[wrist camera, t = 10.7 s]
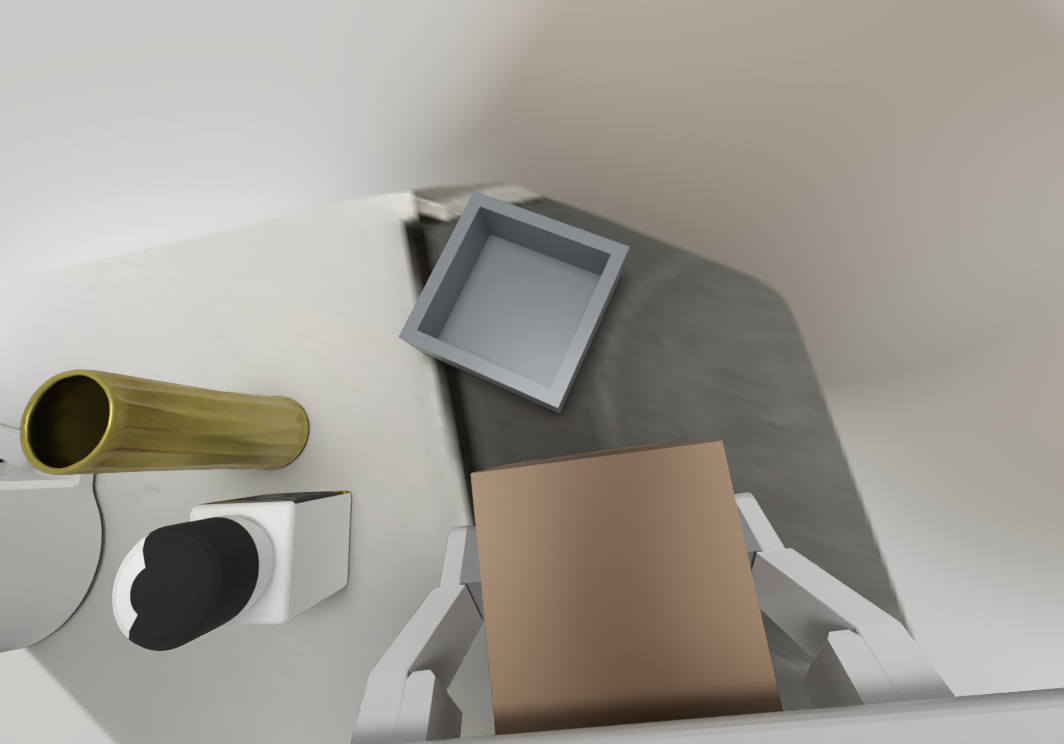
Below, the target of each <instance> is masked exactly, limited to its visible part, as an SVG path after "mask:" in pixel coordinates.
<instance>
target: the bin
mask: <svg viewBox="0 0 1064 744" xmlns="http://www.w3.org/2000/svg"><path fill="white" fill-rule="evenodd" d="M628 251H629V247H628V246H626V245H623V244H620V243H617V242H615V241H612V240H609V239H606V238H603V237H601V236H598V235H595V234H592V233H589V232H587V231H584V230H581V229H578V228H576V227H573V226H570V225H567V224H564V223H562V222H559V221H556V220H553V219H550V218H548V217H545V216H542V215H539V214H536V213H534V212H531V211H528V210H525V209H523V208H520V207H517V206H514V205H511V204H509V203H506V202H503V201H500V200H497V199H495V198H492V197H489V196H486V195H484V194H481V193H478V192H475V191H474V192H473V194H472V196H471V198H470V200H469V202H468V204H467V206H466V208H465V210H464V212H463V214H462V216H461V217H460V219H459V221H458V223H457V225H456V227H455V229H454V231H453V233H452V235H451V237H450V239H449V241H448V243H447V245H446V246H445V248H444V250H443V252H442V254H441V256H440V258H439V260H438V262H437V264H436V266H435V268H434V270H433V272H432V274H431V275H430V277H429V279H428V281H427V283H426V285H425V287H424V289H423V291H422V293H421V295H420V297H419V299H418V301H417V303H416V305H415V306H414V308H413V310H412V312H411V314H410V316H409V318H408V320H407V322H406V324H405V326H404V328H403V330H402V332H401V334H400V335H399V338H401V339H402V340H404V341H405V342H407V343H408V344H410V345H411V346H413V347H415V348H416V349H418V350H419V351H421V352H422V353H424V354H426V355H428V356H431V357H433V358H435V359H437V360H439V361H442V362H444V363H446V364H448V365H451V366H453V367H455V368H457V369H460V370H462V371H464V372H466V373H469V374H471V375H473V376H475V377H478V378H480V379H482V380H484V381H486V382H489V383H491V384H493V385H495V386H498V387H500V388H502V389H504V390H507V391H509V392H511V393H513V394H516V395H518V396H520V397H522V398H525V399H527V400H529V401H531V402H534V403H536V404H538V405H540V406H542V407H545V408H547V409H549V410H551V411H554V412H556V413H558V414H560V413H561V411H562V409H563V407H564V404H565V402H566V400H567V398H568V395H569V393H570V391H571V389H572V386H573V384H574V382H575V380H576V377H577V375H578V373H579V371H580V368H581V366H582V364H583V361H584V359H585V357H586V355H587V352H588V350H589V348H590V346H591V343H592V341H593V339H594V337H595V334H596V332H597V330H598V328H599V325H600V323H601V321H602V319H603V316H604V314H605V312H606V310H607V307H608V305H609V303H610V300H611V298H612V296H613V294H614V291H615V289H616V287H617V285H618V282H619V280H620V278H621V275H622V272H623V268H624V265H625V261H626V258H627V254H628Z"/></svg>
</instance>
